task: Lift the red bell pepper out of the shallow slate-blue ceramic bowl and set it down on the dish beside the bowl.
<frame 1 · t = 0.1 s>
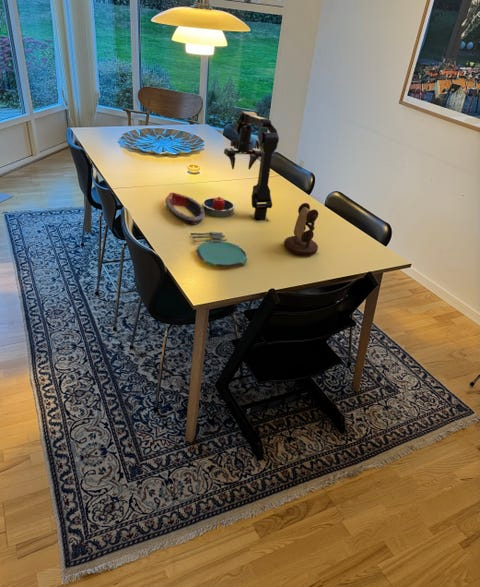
hand: (240, 169, 230), 15 cm above the table, tool pointing down, fingers open, 9 cm apart
brown upright piece: (299, 249, 195), on the table
bowl: (217, 211, 218), on the table
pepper: (217, 210, 217), resting on bowl
dish: (184, 213, 211), on the table
cutlery set: (217, 251, 184), on the table
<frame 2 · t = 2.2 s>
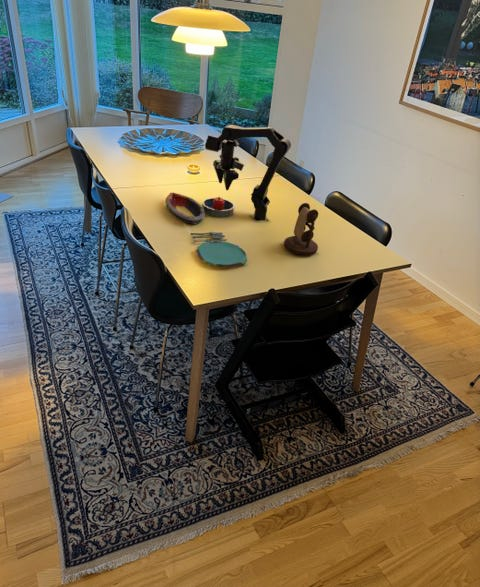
hand: (223, 186, 215), 12 cm above the table, tool pointing down, fingers open, 9 cm apart
nothing on the table moved.
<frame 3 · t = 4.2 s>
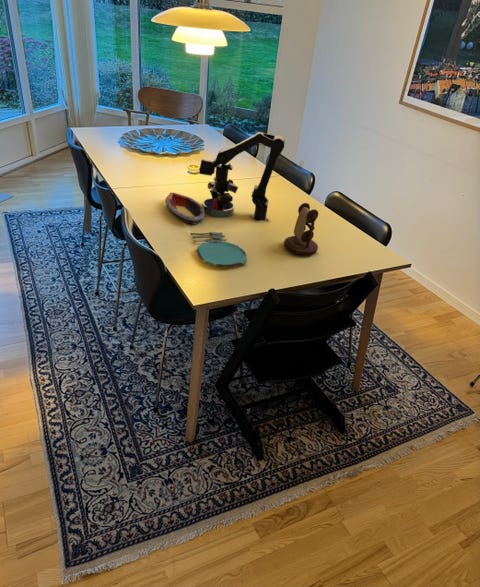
hand: (218, 208, 217), 2 cm above the table, tool pointing down, fingers closed on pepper, 5 cm apart
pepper: (217, 210, 217), point 1 cm above the table, touching bowl, gripper
everything else where it was.
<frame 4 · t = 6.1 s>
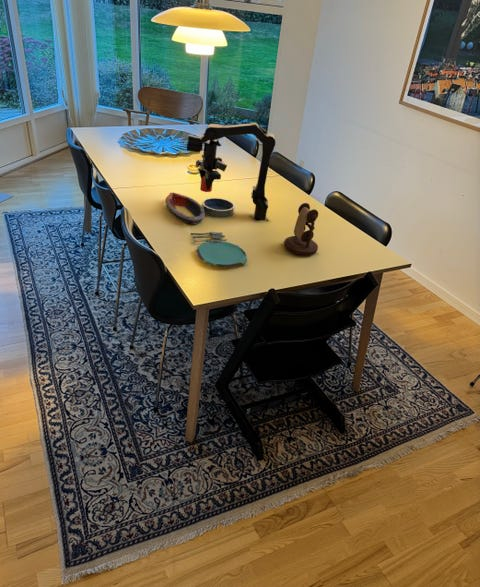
hand: (206, 187, 209), 12 cm above the table, tool pointing down, fingers closed on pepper, 5 cm apart
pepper: (205, 189, 210), point 11 cm above the table, touching gripper
everything else where it was.
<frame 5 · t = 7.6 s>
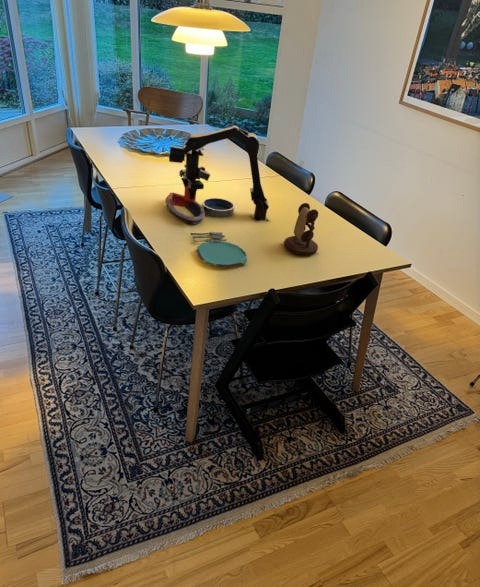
hand: (190, 196, 210), 7 cm above the table, tool pointing down, fingers closed on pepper, 5 cm apart
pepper: (189, 199, 210), point 6 cm above the table, touching gripper
everything else where it was.
when the fingers open (6 cm above the table, at t = 8.5 s): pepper stays where it is, resting on dish.
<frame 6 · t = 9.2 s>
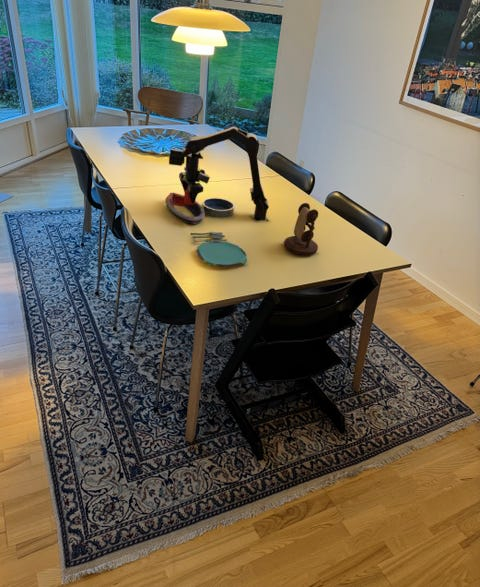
hand: (189, 199, 210), 6 cm above the table, tool pointing down, fingers open, 9 cm apart
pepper: (189, 202, 211), point 5 cm above the table, touching dish
dish: (184, 213, 211), on the table, touching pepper
everything else where it was.
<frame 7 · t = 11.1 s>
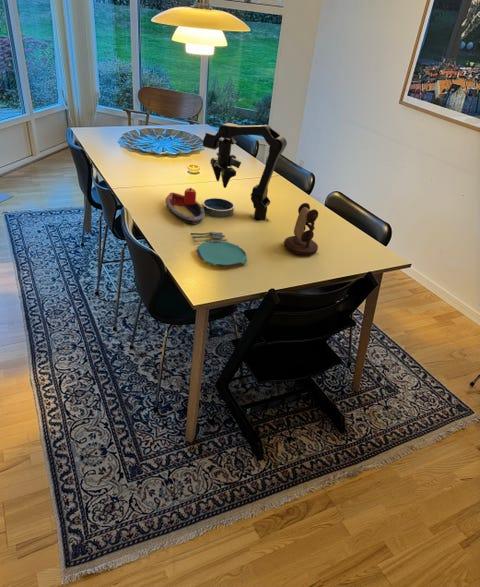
hand: (221, 184, 216), 12 cm above the table, tool pointing down, fingers open, 9 cm apart
nothing on the table moved.
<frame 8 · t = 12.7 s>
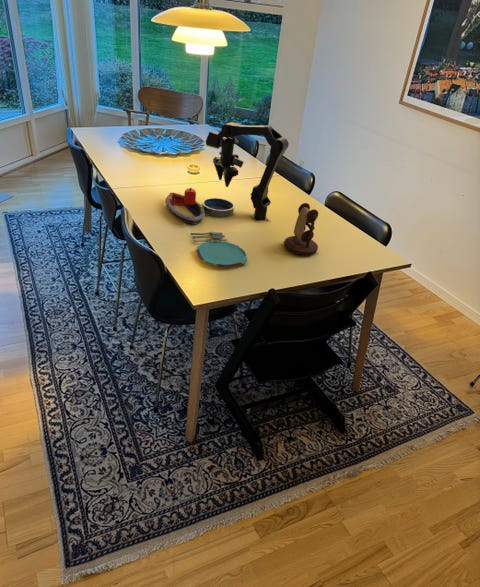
hand: (223, 183, 217), 12 cm above the table, tool pointing down, fingers open, 9 cm apart
nothing on the table moved.
at the end: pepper touching dish; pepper inside the target area in the dish (3.6 cm from its centre), point 4.8 cm above the dish's base; the gripper is holding nothing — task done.
